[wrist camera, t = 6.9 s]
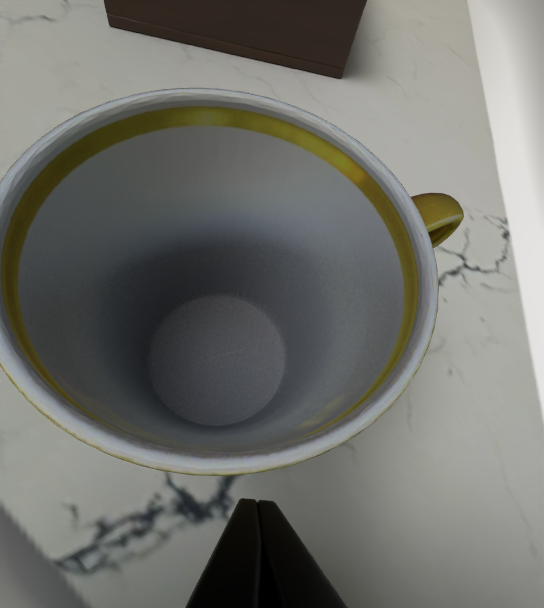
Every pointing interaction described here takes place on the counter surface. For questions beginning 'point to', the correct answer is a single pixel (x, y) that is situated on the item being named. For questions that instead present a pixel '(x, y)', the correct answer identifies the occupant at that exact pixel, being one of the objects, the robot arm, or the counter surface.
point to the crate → (252, 28)
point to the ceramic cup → (213, 281)
